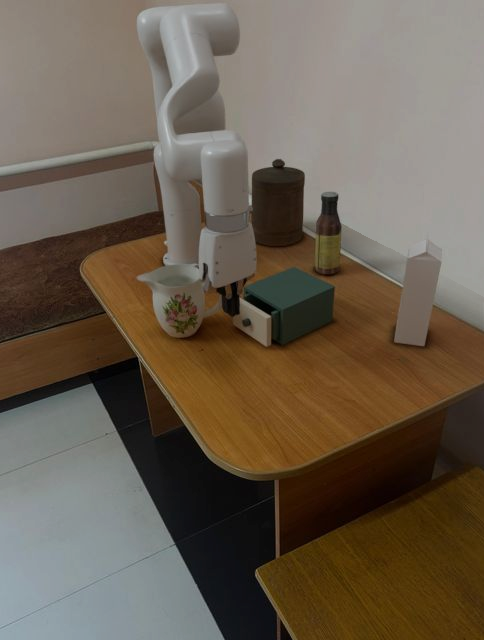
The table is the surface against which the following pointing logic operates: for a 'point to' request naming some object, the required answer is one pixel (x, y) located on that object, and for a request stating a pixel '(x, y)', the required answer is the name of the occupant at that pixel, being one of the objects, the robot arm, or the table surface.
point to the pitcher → (178, 298)
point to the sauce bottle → (328, 236)
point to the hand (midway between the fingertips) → (231, 312)
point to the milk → (418, 292)
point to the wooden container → (277, 204)
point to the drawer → (258, 319)
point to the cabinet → (296, 301)
